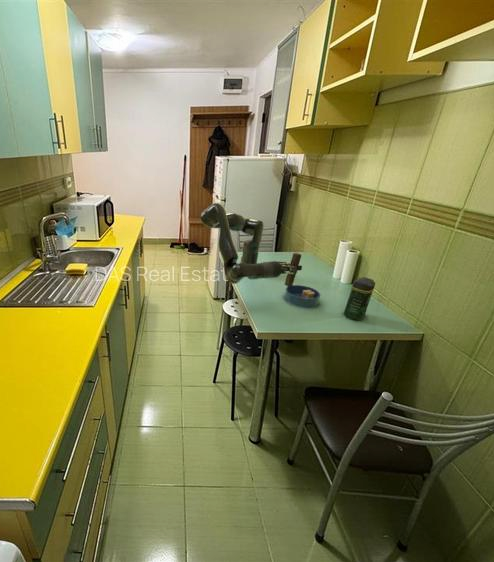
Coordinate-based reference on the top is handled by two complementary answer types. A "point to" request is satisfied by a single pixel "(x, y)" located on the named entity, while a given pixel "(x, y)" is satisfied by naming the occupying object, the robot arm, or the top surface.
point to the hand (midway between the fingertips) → (298, 266)
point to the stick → (294, 262)
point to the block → (308, 294)
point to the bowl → (295, 296)
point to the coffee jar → (359, 298)
